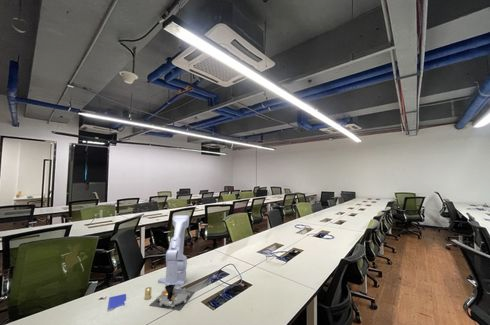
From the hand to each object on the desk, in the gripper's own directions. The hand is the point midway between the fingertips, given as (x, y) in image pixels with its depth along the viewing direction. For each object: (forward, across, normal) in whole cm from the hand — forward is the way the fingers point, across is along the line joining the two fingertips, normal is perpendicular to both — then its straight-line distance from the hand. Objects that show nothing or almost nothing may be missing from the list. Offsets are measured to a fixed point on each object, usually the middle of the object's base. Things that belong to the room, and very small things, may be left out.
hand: (169, 298), depth 108 cm
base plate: (+3, 0, +4) cm, 6 cm away
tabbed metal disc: (+2, 0, +4) cm, 5 cm away
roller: (+4, -14, +1) cm, 15 cm away
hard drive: (+4, -28, -5) cm, 29 cm away
